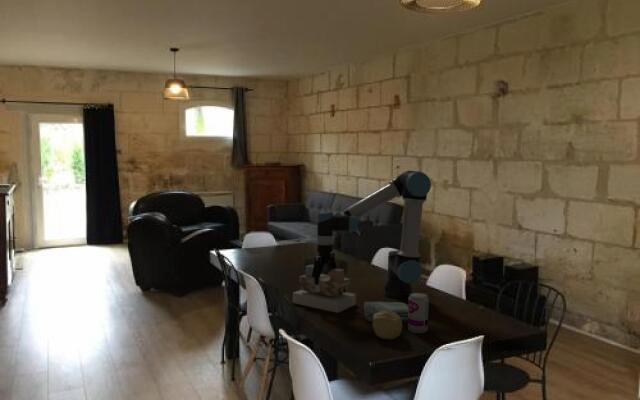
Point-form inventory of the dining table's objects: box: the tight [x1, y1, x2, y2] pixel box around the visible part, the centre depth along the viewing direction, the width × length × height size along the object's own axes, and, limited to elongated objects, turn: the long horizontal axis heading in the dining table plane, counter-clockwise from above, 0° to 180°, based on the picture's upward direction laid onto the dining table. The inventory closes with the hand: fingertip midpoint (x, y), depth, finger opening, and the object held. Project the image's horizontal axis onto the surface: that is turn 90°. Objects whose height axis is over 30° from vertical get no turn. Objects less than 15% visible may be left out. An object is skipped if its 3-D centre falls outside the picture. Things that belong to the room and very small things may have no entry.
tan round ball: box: [372, 310, 403, 340], centre depth 206 cm, size 12×12×11 cm
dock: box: [292, 289, 357, 314], centre depth 249 cm, size 26×16×5 cm, turn 56°
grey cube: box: [304, 264, 315, 277], centre depth 252 cm, size 5×5×5 cm
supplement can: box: [407, 292, 430, 334], centre depth 213 cm, size 8×8×15 cm
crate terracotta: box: [329, 267, 345, 282], centre depth 244 cm, size 5×5×5 cm
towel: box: [363, 301, 408, 323], centre depth 233 cm, size 18×21×5 cm
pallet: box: [298, 273, 351, 297], centre depth 248 cm, size 22×11×6 cm, turn 56°
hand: (324, 288), depth 248 cm, fingers closed on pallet, 11 cm apart
